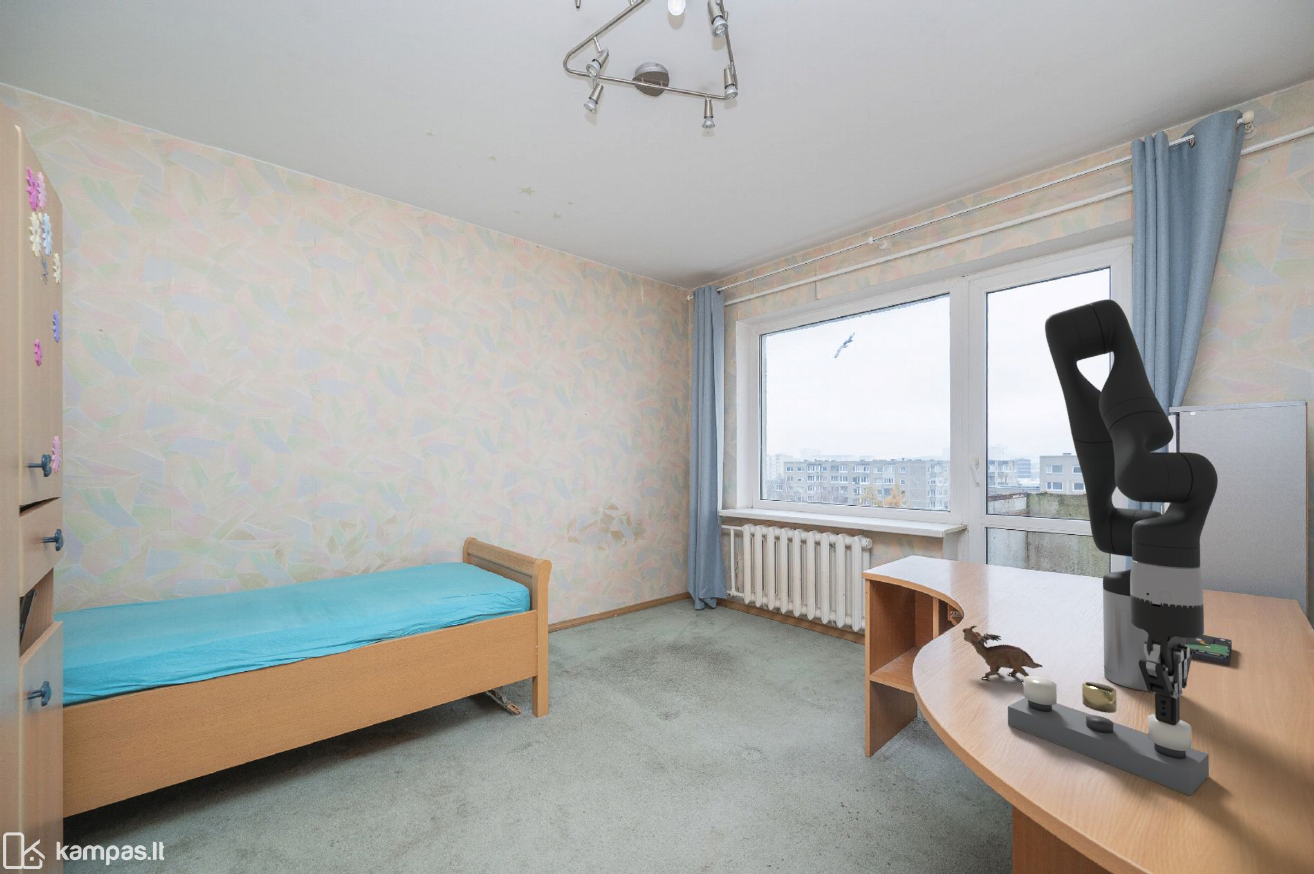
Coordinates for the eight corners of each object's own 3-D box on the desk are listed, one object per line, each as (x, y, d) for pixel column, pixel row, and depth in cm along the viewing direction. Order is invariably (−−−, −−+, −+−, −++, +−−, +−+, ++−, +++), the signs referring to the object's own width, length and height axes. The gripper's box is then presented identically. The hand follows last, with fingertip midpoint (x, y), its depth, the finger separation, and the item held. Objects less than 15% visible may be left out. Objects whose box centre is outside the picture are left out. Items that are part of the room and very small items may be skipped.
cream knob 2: (1196, 744, 76) (1195, 724, 76) (1185, 754, 74) (1185, 733, 74) (1154, 731, 80) (1154, 711, 80) (1143, 739, 77) (1143, 719, 78)
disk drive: (1169, 640, 133) (1163, 655, 123) (1169, 628, 133) (1163, 642, 123) (1231, 651, 125) (1231, 668, 115) (1231, 639, 126) (1231, 655, 115)
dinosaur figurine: (966, 677, 109) (965, 630, 110) (962, 667, 115) (962, 621, 115) (1049, 689, 104) (1048, 639, 104) (1041, 677, 109) (1041, 630, 110)
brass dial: (1121, 708, 83) (1120, 687, 83) (1110, 715, 81) (1110, 694, 81) (1088, 698, 86) (1088, 678, 86) (1077, 704, 84) (1077, 684, 84)
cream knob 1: (1061, 700, 90) (1061, 683, 90) (1049, 707, 87) (1048, 689, 87) (1031, 690, 93) (1031, 673, 93) (1018, 696, 91) (1018, 679, 91)
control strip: (1208, 776, 76) (1208, 745, 76) (1190, 795, 72) (1189, 762, 72) (1031, 712, 95) (1030, 687, 95) (1008, 724, 90) (1007, 698, 91)
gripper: (1148, 584, 84) (1149, 700, 84) (1113, 596, 77) (1115, 723, 77) (1217, 595, 78) (1219, 720, 77) (1186, 609, 71) (1188, 747, 70)
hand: (1167, 721), depth 77 cm, fingers closed
